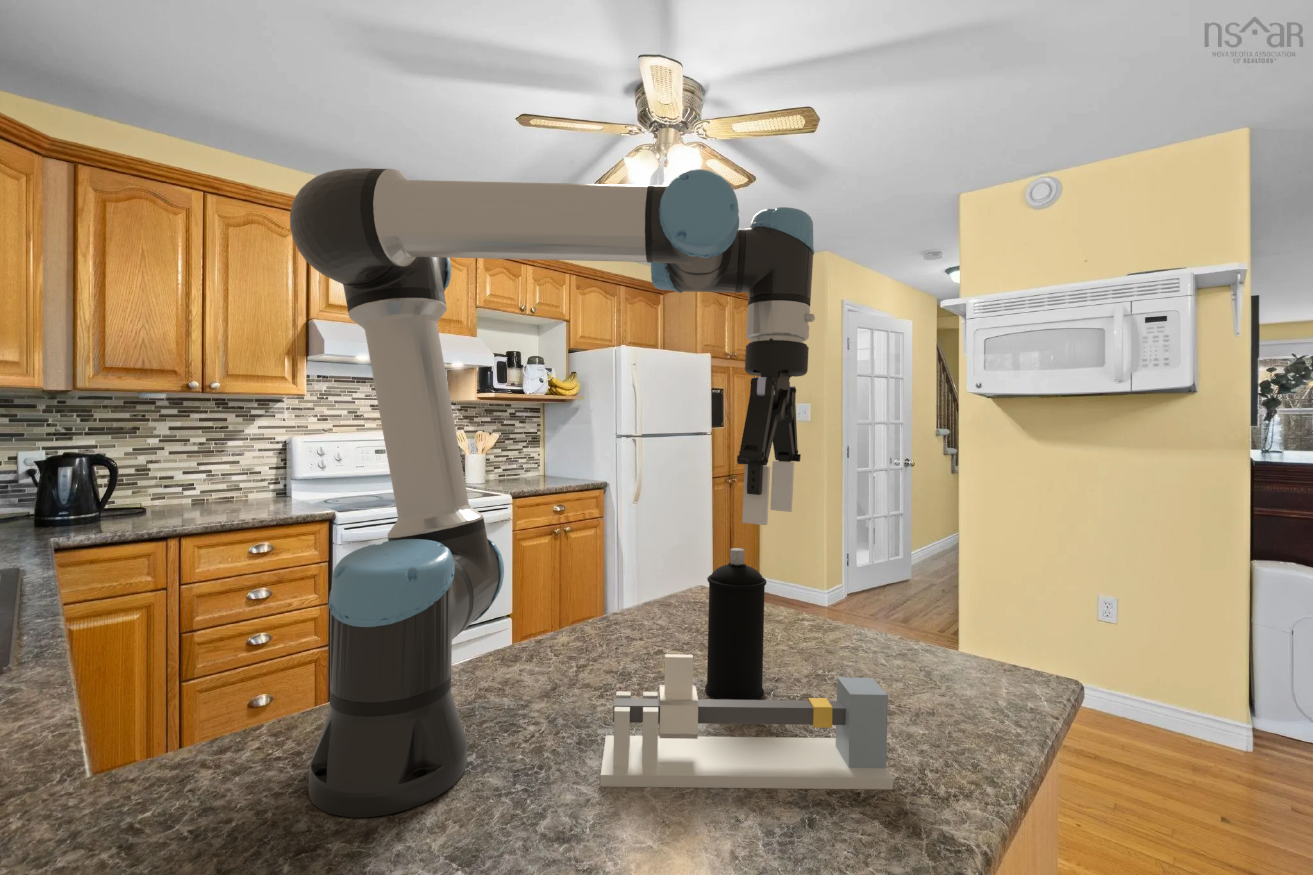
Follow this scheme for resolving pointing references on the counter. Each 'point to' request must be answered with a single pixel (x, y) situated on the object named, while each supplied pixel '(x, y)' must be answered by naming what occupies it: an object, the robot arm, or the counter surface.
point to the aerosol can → (735, 631)
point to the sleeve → (678, 699)
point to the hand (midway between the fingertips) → (768, 516)
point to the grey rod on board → (755, 744)
